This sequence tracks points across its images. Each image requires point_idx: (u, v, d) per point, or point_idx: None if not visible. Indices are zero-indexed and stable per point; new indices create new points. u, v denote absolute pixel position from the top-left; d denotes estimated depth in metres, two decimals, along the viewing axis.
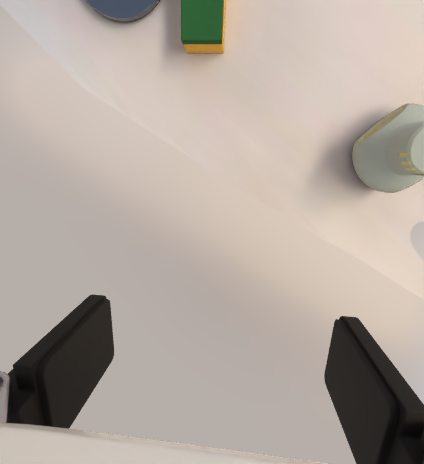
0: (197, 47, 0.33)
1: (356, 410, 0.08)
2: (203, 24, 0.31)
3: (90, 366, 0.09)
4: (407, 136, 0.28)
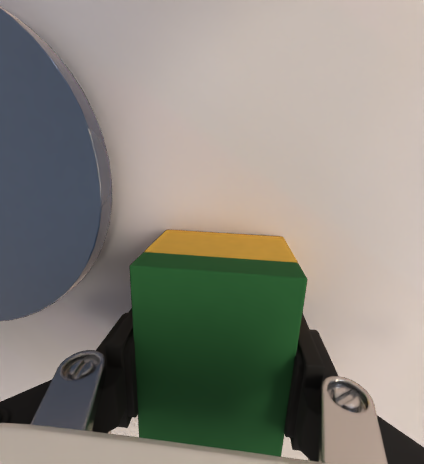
0: None
1: None
2: (215, 442, 0.09)
3: None
4: None
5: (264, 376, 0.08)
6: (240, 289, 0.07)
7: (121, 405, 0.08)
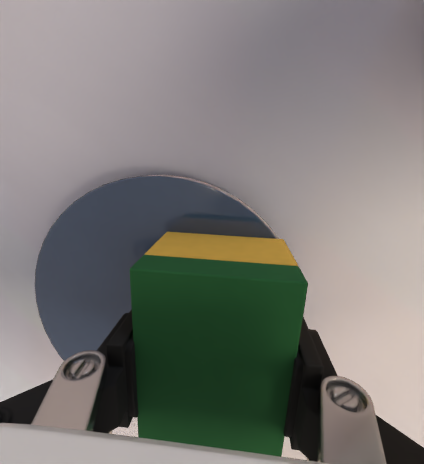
0: None
1: None
2: (214, 446, 0.09)
3: None
4: None
5: (264, 380, 0.08)
6: (240, 293, 0.07)
7: (122, 406, 0.08)
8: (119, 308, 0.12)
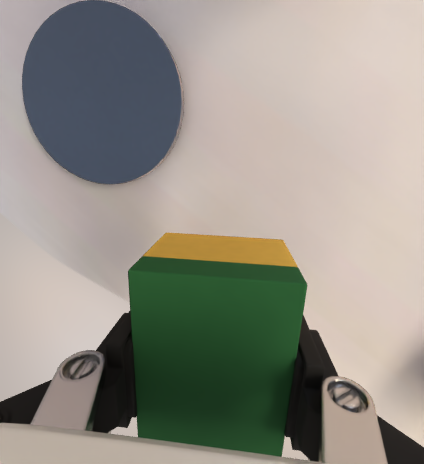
0: None
1: None
2: (214, 447, 0.09)
3: None
4: None
5: (264, 381, 0.08)
6: (239, 294, 0.07)
7: (121, 406, 0.08)
8: (74, 99, 0.20)
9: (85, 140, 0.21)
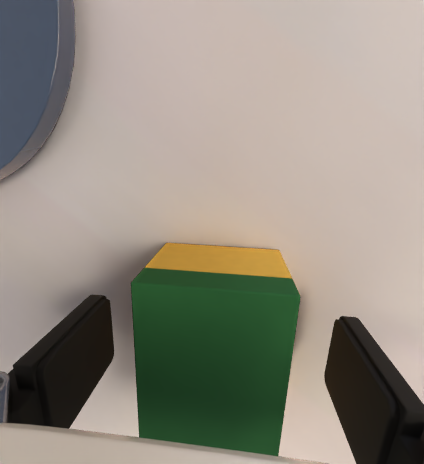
0: None
1: (356, 410, 0.08)
2: None
3: (90, 366, 0.09)
4: None
5: (260, 388, 0.08)
6: (236, 305, 0.08)
7: None
8: None
9: None
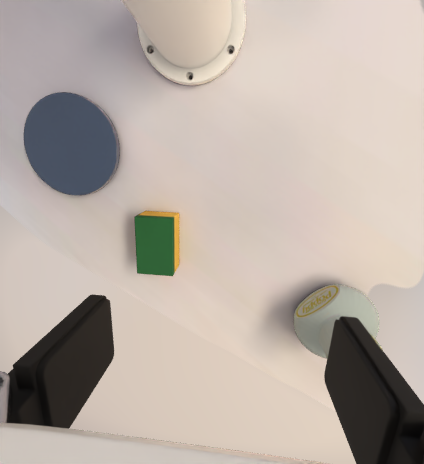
0: None
1: (356, 410, 0.08)
2: (156, 264, 0.35)
3: (90, 366, 0.09)
4: None
5: (166, 243, 0.34)
6: (158, 221, 0.33)
7: None
8: (54, 145, 0.34)
9: (61, 169, 0.35)
